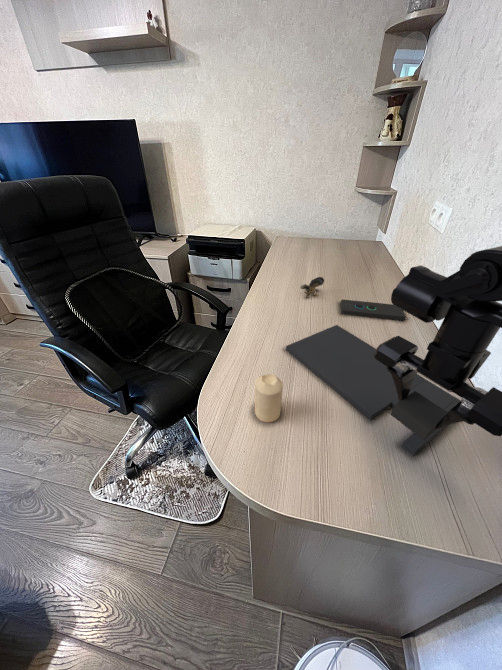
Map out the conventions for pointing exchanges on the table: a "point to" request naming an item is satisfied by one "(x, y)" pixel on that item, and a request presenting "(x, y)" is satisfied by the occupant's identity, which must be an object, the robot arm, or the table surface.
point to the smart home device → (372, 310)
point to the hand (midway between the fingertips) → (419, 414)
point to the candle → (268, 397)
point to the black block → (418, 414)
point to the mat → (363, 376)
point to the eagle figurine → (312, 286)
